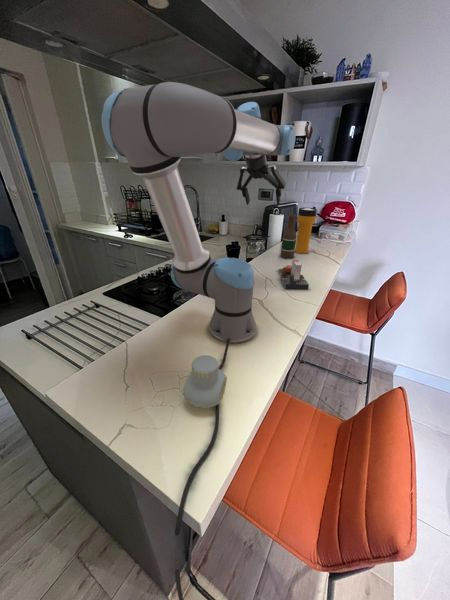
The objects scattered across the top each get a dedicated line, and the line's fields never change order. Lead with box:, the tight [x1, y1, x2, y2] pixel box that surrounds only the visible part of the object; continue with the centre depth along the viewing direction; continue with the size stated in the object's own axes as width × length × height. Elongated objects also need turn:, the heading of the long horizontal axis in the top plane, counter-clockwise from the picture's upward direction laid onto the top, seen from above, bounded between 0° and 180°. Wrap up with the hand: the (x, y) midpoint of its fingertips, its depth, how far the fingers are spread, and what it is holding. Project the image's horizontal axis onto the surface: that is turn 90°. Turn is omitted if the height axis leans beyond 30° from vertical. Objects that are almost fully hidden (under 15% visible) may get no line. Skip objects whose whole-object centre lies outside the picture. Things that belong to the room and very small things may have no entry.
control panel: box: [280, 274, 310, 291], centre depth 117 cm, size 11×10×3 cm
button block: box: [278, 266, 291, 276], centre depth 126 cm, size 10×8×3 cm
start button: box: [285, 264, 292, 271], centre depth 125 cm, size 4×4×2 cm
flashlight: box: [294, 207, 318, 254], centre depth 154 cm, size 10×26×10 cm
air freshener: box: [182, 354, 228, 409], centre depth 59 cm, size 11×8×10 cm
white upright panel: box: [290, 259, 303, 282], centre depth 114 cm, size 6×2×8 cm, turn 0°
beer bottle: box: [280, 213, 298, 260], centre depth 145 cm, size 8×8×24 cm
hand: (263, 202), depth 111 cm, fingers open, 13 cm apart
